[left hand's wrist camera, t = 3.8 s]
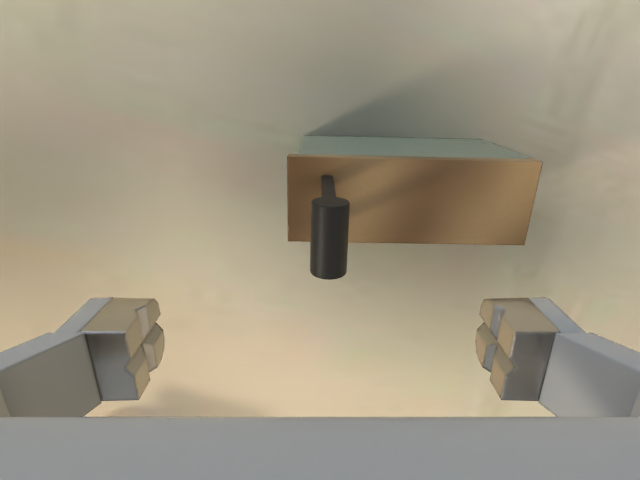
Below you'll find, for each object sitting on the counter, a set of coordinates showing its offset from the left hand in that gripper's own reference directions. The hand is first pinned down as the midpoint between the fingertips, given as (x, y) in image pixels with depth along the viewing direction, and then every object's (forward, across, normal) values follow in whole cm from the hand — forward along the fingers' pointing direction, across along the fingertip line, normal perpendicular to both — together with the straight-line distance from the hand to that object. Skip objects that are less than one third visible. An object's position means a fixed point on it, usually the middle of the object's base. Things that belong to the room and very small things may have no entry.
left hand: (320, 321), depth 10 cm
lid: (+17, -6, +1) cm, 18 cm away
